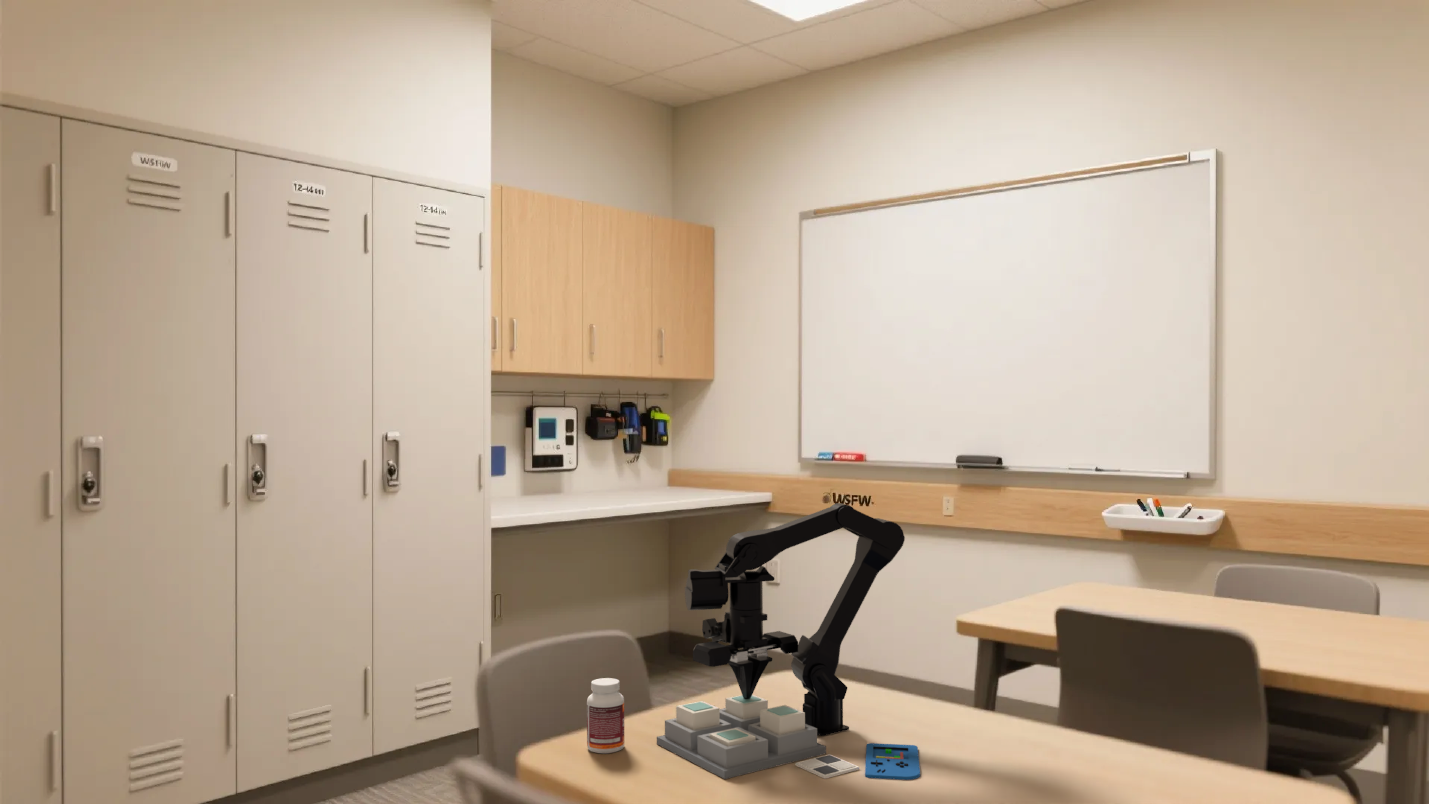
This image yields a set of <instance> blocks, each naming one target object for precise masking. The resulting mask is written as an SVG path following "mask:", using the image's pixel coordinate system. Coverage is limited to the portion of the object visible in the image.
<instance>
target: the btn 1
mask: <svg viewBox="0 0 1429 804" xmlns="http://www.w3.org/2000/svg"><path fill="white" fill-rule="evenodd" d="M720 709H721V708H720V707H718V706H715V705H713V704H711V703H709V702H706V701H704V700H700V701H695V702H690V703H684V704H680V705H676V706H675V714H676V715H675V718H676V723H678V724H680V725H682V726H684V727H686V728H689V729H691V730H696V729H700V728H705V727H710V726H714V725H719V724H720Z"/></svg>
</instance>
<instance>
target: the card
mask: <svg viewBox="0 0 1429 804" xmlns="http://www.w3.org/2000/svg"><path fill="white" fill-rule="evenodd" d="M795 766H797V767H798V768H800V769H802V770H805V771H807V772H809V773H812V774H814V775H816V776H818V777H819V778H823V779H824V780H825V779H828V778H832V777H836V776H839V775H843V774H847V773H850V772H855V771H859V770H860V766H858V765H856V764H853V763H851V762H849V761H846V760H844V759H843V758H842V759H841V758H839V757H837V756H835V755H832V754H824V755H820V756H816V757H812V758H808V759H806V760H805V759H804V760H803V761H801V760H800V761H796V762H795Z"/></svg>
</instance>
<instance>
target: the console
mask: <svg viewBox="0 0 1429 804" xmlns="http://www.w3.org/2000/svg"><path fill="white" fill-rule="evenodd" d="M734 728H737V729H740V730H742V731H744V732H746V733H749V734H751V735H753V736H755V741H751V742H746V743H742V744H738V745H733V746H729V747H727V746H725V745H723V744H721V743H718V742H716V741H714V740H712V739H710V734H712V733H716V732H721V731H725V730H730V729H734ZM656 745H658V746H660V747H662V748H664V749H666V750H668V751H669V752H671V753H673V754H675V755H677V756H679V757H681V758H683V759H685V760H686V761H689V762H691V763H693V764H695V765H697V766H698V767H700V768H702V769H704V770H706V771H708V772H710V773H712V774H713V775H716V776H717V777H720V778H722V779H724V780H727V779H730V778H735V777H739V776H743V775H747V774H751V773H754V772H758V771H763V770H767V769H771V768H775V767H778V766H782V765H787V764H791V763H793V762H795V763H796V762H800V761H801V760H803V761H804V760H805V759H806V760H808V759H812V758H816V757H820V756H824V755H827V746H826V745H824V744H823V743H822V744H821V743H819V742H818V735H817V728H815V727H812V726H810V725H807V724H805V729H803V730H799V731H794V732H790V733H785V734H781V735H778V734H776V733H773V732H771V731H769V730H766V729H764V728H761V727H760V716H757V717H752V718H747V719H743V720H742V719H740V718H738V717H735V716H733V715H731V714H728V713H726V707H724V708H720V724H719V725H714V726H710V727H705V728H700V729H696V730H691V729H689V728H686V727H684V726H682V725H680V724H678V723H676V717H673V718H670V719H664V735H659V736H656Z"/></svg>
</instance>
